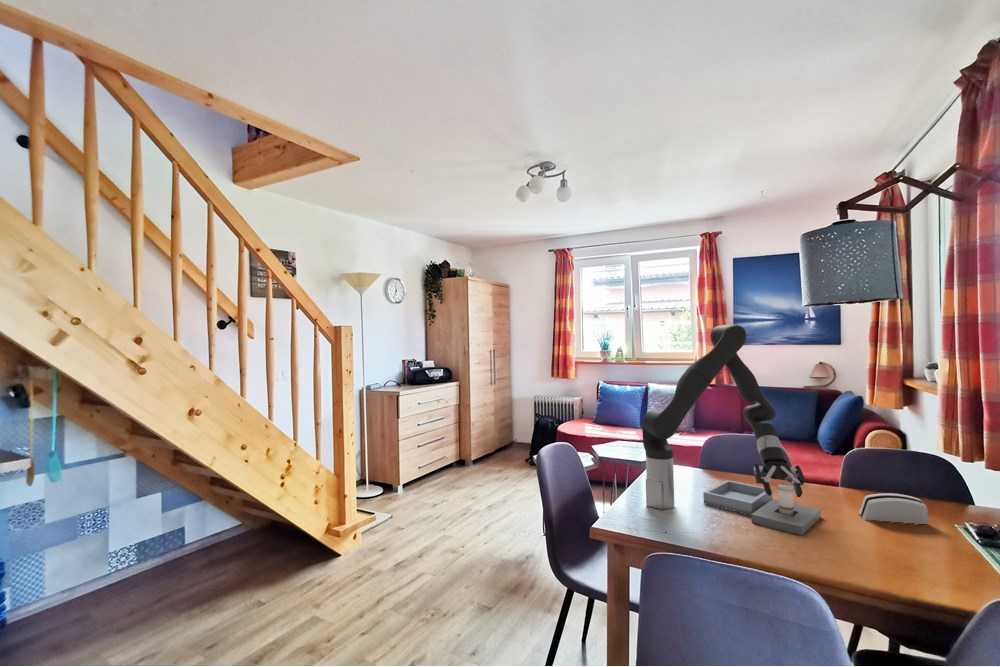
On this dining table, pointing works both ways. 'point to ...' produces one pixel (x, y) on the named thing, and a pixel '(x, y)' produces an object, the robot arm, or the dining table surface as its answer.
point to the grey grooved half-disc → (894, 508)
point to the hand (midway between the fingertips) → (784, 495)
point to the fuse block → (786, 517)
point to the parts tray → (737, 496)
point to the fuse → (785, 499)
